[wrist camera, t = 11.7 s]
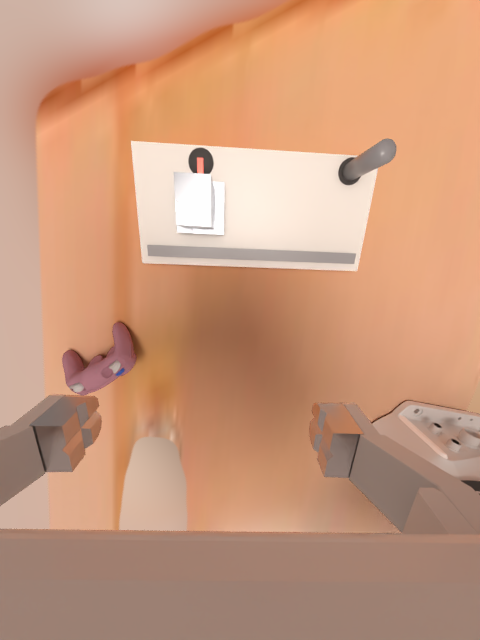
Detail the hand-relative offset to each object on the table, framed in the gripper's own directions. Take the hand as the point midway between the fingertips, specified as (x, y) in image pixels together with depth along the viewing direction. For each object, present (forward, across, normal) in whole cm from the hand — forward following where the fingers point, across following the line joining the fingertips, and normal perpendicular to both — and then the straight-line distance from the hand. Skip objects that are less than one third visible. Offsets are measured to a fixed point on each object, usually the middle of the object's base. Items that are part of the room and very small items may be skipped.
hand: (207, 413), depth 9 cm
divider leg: (+20, -3, +11) cm, 23 cm away
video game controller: (+23, -17, -9) cm, 30 cm away
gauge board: (+23, +3, +10) cm, 25 cm away
